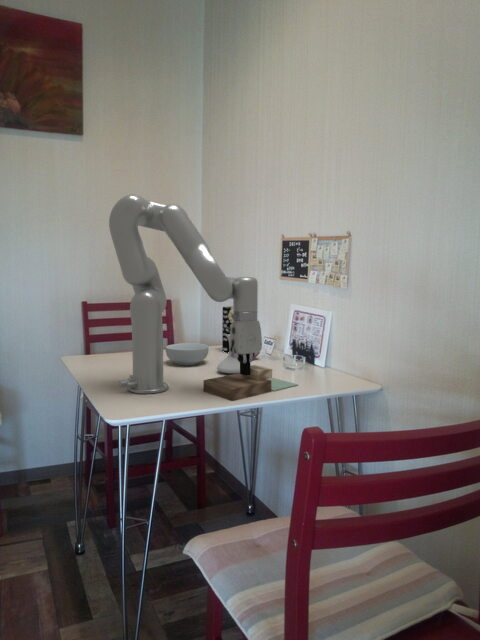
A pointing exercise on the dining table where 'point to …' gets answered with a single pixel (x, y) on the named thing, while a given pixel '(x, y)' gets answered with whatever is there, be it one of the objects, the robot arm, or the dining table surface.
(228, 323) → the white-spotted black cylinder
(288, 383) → the rubber mat
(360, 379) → the dining table surface
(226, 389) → the serving board
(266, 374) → the beige block
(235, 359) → the flower in vase
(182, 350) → the cereal bowl
